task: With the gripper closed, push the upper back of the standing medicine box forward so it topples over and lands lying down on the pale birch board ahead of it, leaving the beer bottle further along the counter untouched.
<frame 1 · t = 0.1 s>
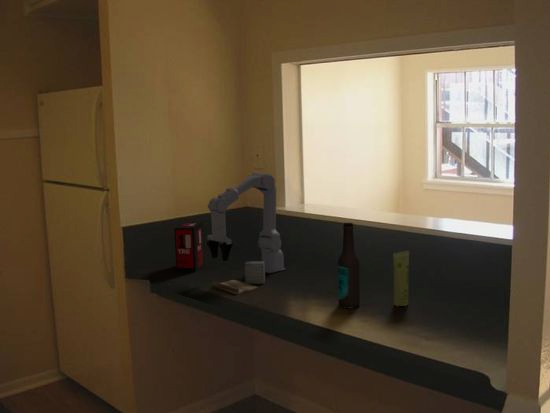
hand: (220, 259, 255), 10 cm above the worktop, tool pointing down, fingers open, 7 cm apart
tube: (400, 305, 219), on the worktop
medicine box: (255, 283, 255), on the worktop
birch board: (235, 287, 248), on the worktop
cleaning product box: (191, 267, 285), on the worktop
beer bottle: (349, 306, 221), on the worktop
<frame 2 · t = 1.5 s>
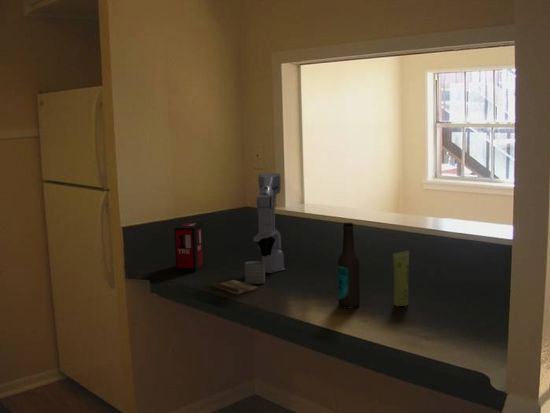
hand: (266, 255, 258), 10 cm above the worktop, tool pointing down, fingers closed
nothing on the worktop moved.
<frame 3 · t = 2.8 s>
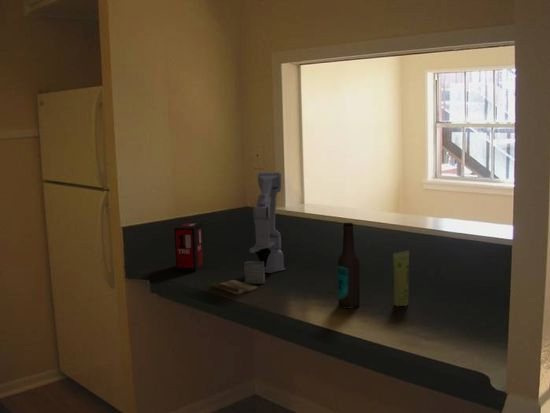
hand: (263, 266, 257), 6 cm above the worktop, tool pointing down, fingers closed
medicine box: (255, 283, 255), on the worktop, touching gripper
everything else where it was.
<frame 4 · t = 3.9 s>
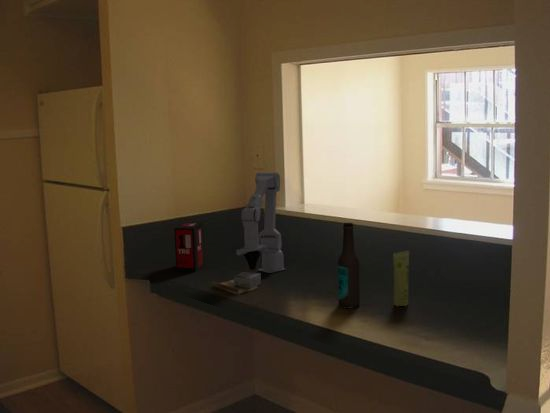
hand: (252, 269, 253), 6 cm above the worktop, tool pointing down, fingers closed
medicine box: (253, 277, 252), point 3 cm above the worktop, touching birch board
everything else where it was.
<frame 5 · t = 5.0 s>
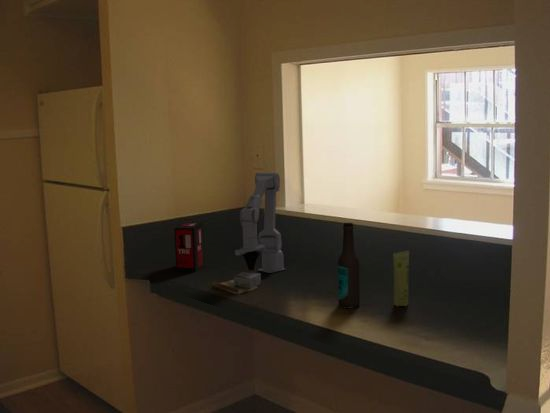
hand: (251, 269, 253), 6 cm above the worktop, tool pointing down, fingers closed
nothing on the worktop moved.
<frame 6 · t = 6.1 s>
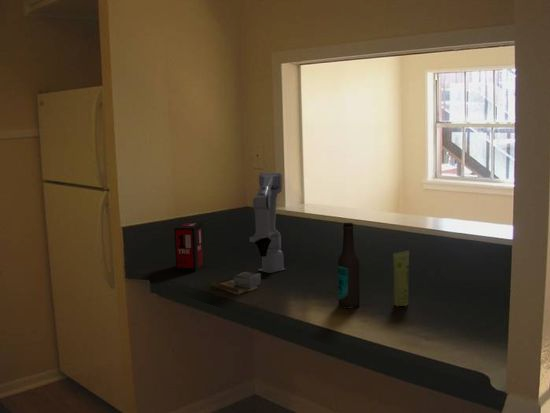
hand: (263, 256, 257), 10 cm above the worktop, tool pointing down, fingers closed
nothing on the worktop moved.
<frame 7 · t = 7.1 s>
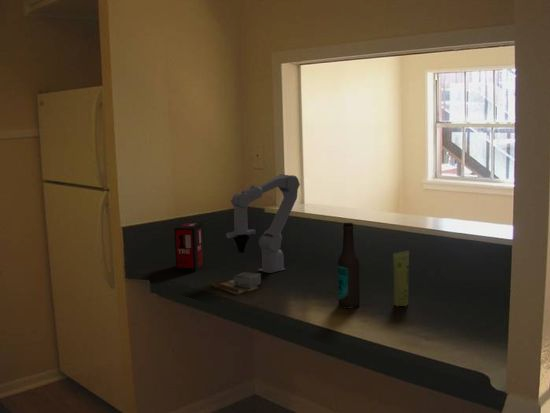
hand: (241, 252, 266), 10 cm above the worktop, tool pointing down, fingers closed
nothing on the worktop moved.
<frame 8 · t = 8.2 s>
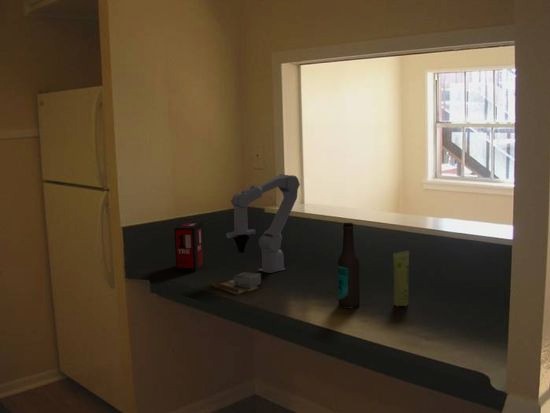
hand: (241, 252, 266), 10 cm above the worktop, tool pointing down, fingers closed
nothing on the worktop moved.
at the end: medicine box tilted 89°; medicine box inside the target area (6.8 cm from its centre), point 2.9 cm above the worktop; beer bottle moved 0.2 cm from its start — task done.
